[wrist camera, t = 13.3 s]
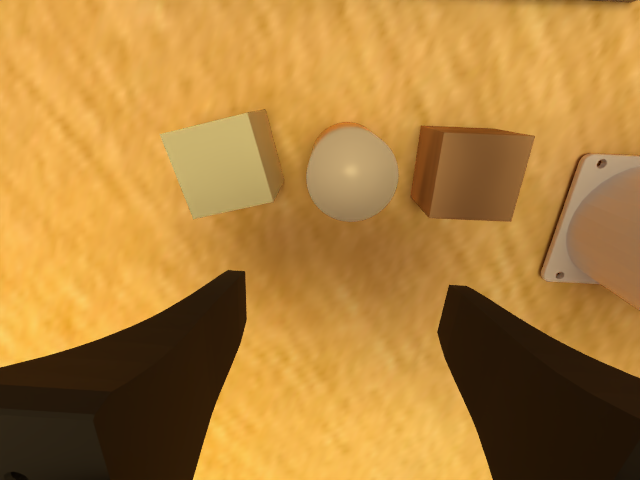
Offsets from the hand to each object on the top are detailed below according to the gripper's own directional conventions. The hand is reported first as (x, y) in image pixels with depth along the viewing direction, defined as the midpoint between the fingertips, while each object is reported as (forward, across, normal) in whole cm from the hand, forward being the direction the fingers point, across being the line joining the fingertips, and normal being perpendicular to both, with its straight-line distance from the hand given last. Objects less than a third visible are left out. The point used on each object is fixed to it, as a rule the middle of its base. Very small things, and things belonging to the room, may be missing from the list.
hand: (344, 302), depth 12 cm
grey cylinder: (+9, 0, -4) cm, 10 cm away
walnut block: (+10, -6, -4) cm, 12 cm away
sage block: (+9, +6, -3) cm, 12 cm away
